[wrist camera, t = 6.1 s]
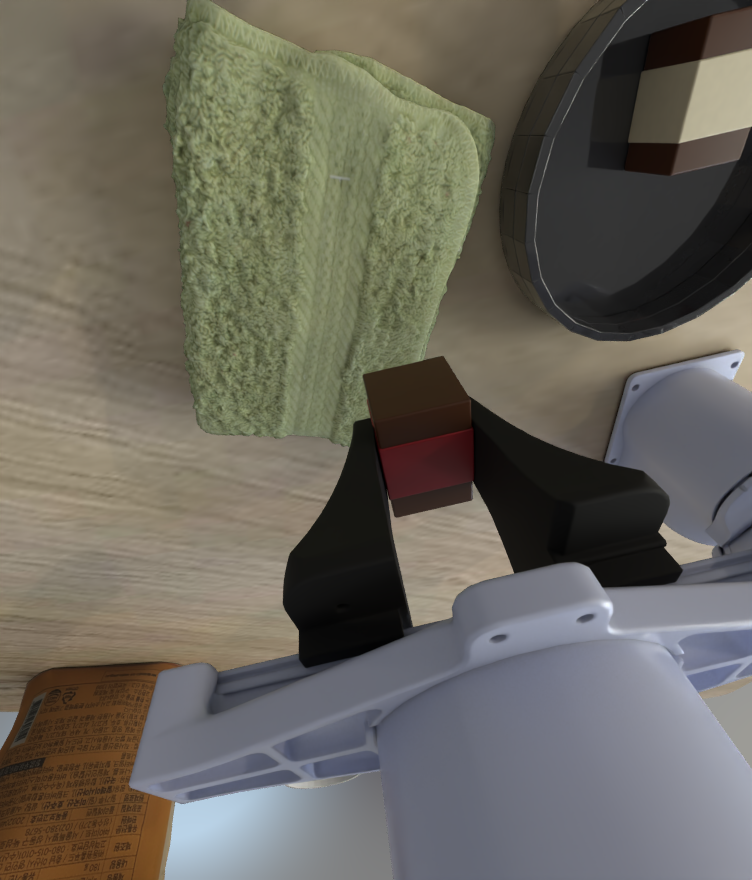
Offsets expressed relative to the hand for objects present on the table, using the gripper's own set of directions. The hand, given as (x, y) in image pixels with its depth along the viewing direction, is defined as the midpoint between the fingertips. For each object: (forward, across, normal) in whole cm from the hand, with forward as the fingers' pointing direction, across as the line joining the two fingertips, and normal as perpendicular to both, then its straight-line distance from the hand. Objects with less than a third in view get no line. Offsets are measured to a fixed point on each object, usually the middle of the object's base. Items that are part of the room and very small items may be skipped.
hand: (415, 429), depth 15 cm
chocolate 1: (+1, 0, 0) cm, 1 cm away
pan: (+9, -14, -5) cm, 18 cm away
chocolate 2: (+9, -14, -8) cm, 18 cm away
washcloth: (+10, +3, -3) cm, 11 cm away
